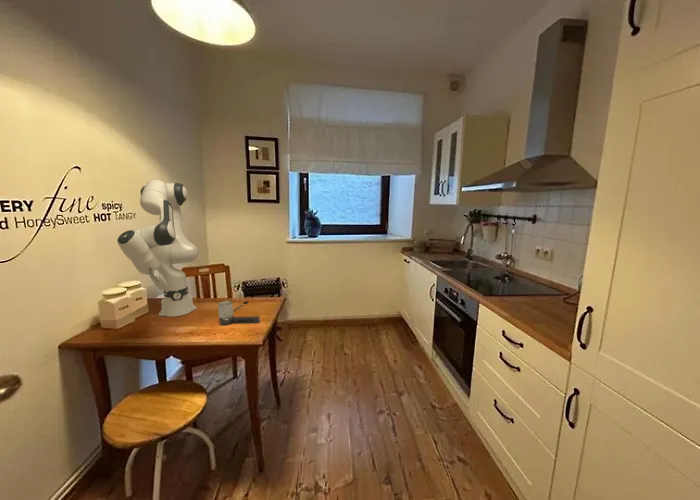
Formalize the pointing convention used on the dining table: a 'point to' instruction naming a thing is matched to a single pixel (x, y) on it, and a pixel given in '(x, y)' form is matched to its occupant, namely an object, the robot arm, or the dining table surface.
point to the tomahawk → (240, 306)
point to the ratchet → (239, 320)
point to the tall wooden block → (225, 309)
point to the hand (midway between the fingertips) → (165, 286)
